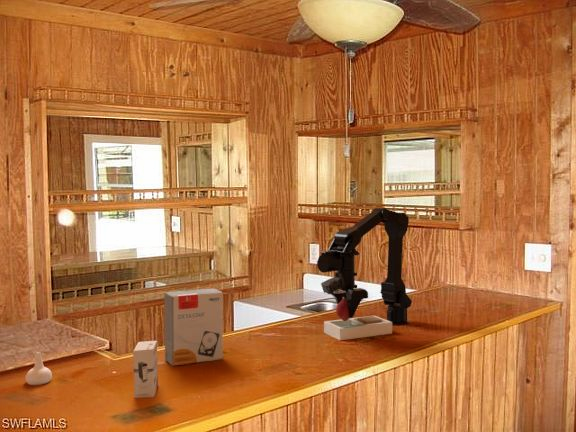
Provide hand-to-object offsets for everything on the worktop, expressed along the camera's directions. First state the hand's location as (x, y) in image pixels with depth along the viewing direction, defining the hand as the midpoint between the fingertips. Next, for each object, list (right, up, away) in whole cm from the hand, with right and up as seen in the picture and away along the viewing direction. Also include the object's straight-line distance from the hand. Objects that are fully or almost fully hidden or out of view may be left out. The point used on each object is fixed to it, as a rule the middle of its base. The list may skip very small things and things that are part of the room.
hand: (346, 315), depth 204 cm
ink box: (-54, -10, -53) cm, 76 cm away
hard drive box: (-47, -9, -26) cm, 54 cm away
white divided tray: (+4, -6, +2) cm, 8 cm away
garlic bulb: (-84, -10, -44) cm, 96 cm away
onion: (0, -2, 0) cm, 2 cm away
